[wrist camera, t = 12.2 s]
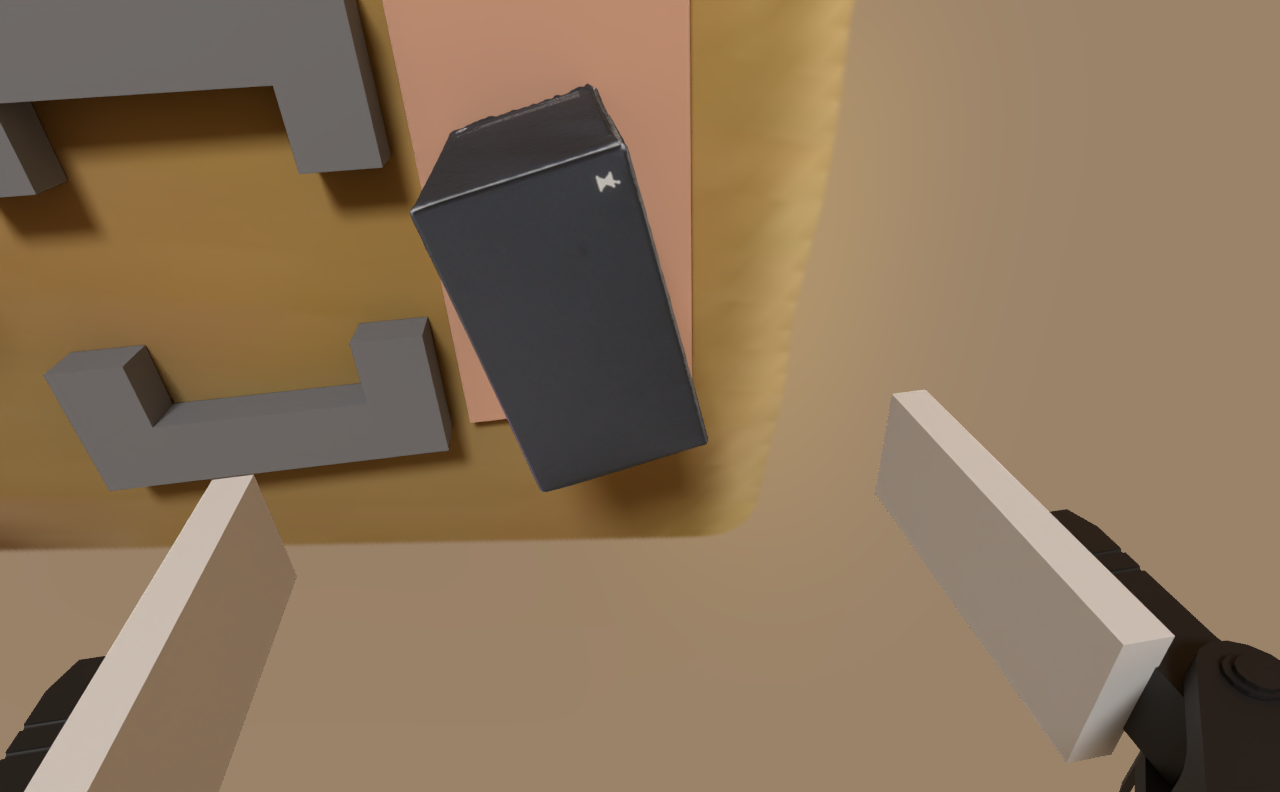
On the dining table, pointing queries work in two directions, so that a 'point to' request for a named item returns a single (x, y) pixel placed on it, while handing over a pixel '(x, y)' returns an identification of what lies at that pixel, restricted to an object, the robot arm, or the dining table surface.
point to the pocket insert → (321, 142)
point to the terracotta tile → (540, 69)
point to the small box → (561, 288)
